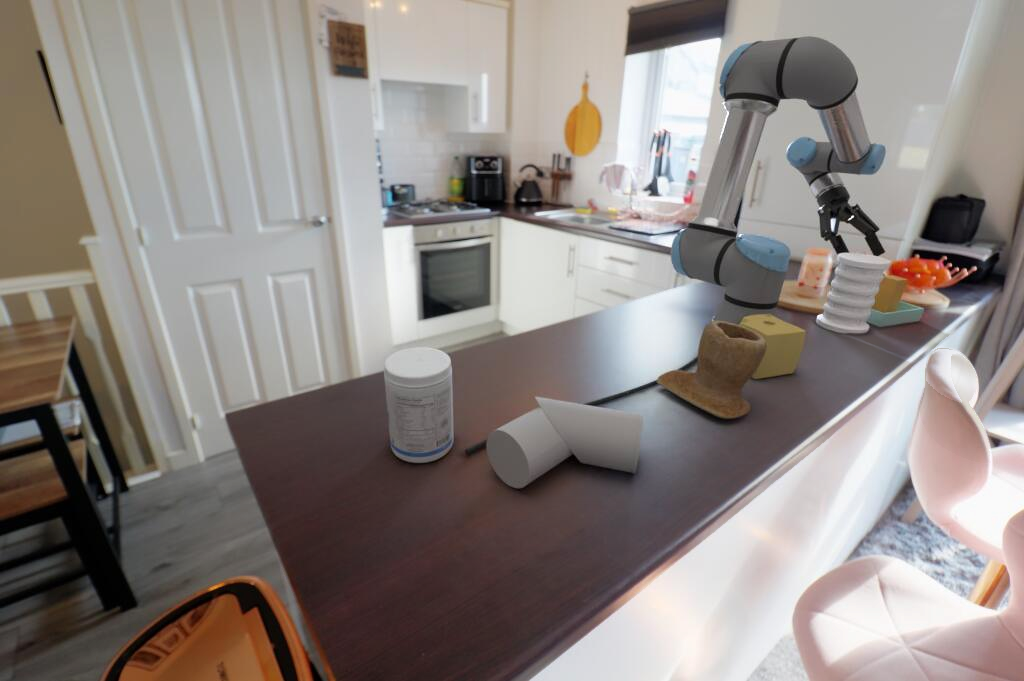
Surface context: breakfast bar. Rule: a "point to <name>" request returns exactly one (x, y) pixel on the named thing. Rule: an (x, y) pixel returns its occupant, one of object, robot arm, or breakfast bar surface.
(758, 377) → the cheese
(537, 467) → the l-shaped cylinder
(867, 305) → the decorative container
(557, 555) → the breakfast bar surface
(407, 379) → the supplement tub
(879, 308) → the mustard block
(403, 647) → the breakfast bar surface
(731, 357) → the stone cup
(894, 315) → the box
